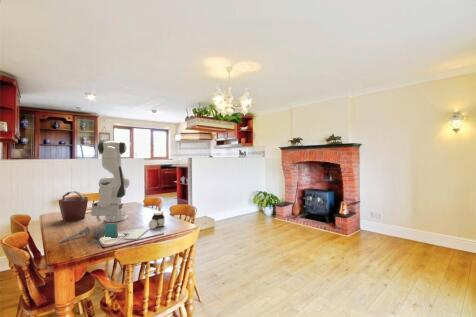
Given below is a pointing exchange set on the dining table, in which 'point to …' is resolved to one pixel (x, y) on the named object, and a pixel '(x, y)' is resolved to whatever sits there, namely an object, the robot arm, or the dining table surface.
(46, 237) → the dining table surface
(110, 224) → the tile
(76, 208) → the bucket
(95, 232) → the pusher bar
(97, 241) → the mat
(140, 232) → the tool board
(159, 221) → the spread jar
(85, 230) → the caliper
